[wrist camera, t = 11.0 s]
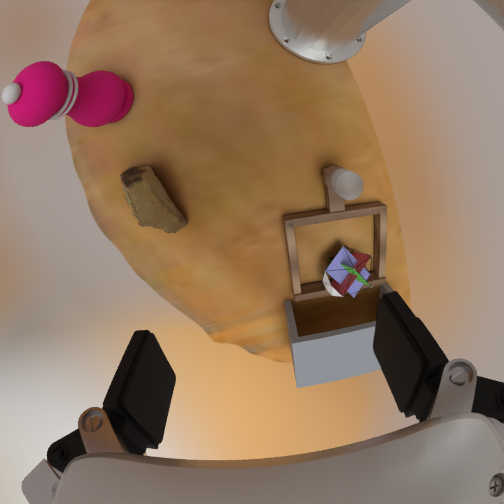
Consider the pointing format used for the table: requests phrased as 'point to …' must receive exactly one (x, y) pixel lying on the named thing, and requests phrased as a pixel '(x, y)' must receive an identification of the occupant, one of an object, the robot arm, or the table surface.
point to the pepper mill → (66, 96)
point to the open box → (332, 351)
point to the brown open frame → (337, 189)
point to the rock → (150, 200)
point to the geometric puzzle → (347, 273)
